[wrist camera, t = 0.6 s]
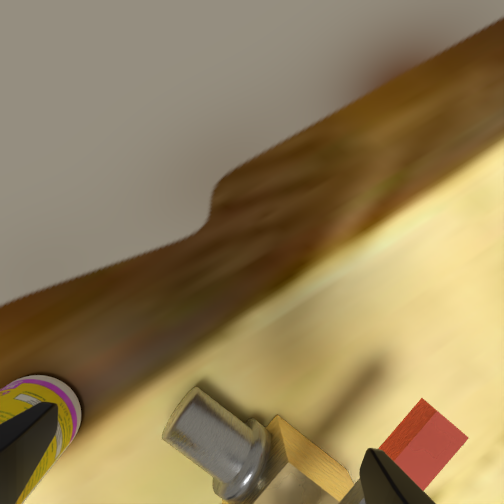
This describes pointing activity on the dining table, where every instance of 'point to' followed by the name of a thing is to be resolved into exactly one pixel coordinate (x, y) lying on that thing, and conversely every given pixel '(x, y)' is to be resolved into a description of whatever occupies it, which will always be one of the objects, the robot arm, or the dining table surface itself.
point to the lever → (418, 447)
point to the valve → (254, 456)
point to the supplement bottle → (31, 393)
